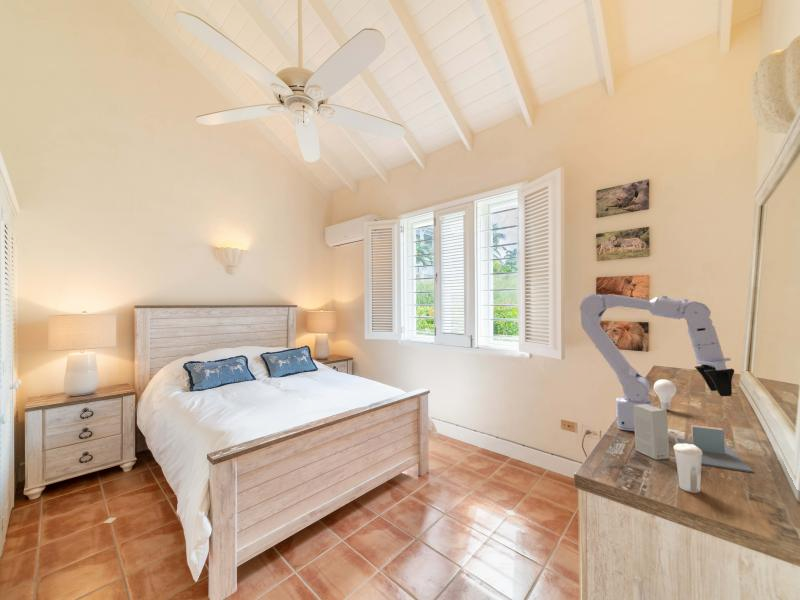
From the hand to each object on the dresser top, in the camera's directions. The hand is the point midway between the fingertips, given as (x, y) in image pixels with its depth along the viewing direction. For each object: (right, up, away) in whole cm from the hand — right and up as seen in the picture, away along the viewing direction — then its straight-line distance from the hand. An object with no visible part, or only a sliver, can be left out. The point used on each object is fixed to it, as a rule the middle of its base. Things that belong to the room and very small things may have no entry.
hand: (720, 393), depth 91 cm
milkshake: (-28, -14, -21) cm, 38 cm away
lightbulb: (+8, -14, +29) cm, 33 cm away
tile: (-9, -13, -6) cm, 17 cm away
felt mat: (-9, -14, -7) cm, 18 cm away
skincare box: (-23, -14, -6) cm, 28 cm away
